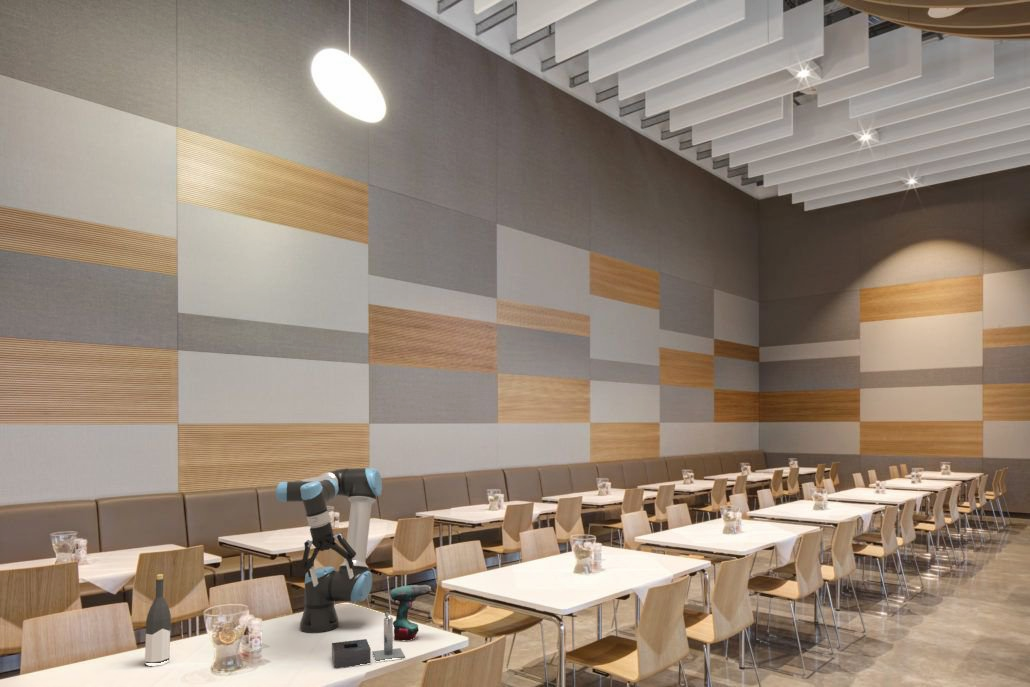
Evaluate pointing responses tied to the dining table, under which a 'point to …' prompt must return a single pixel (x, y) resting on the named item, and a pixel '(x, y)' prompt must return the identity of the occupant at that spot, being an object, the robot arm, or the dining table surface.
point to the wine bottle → (158, 627)
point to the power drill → (406, 610)
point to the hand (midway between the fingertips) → (333, 581)
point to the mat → (380, 655)
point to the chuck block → (351, 653)
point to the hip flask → (388, 634)
